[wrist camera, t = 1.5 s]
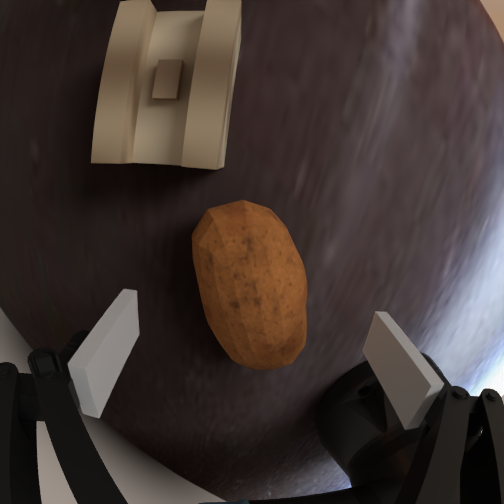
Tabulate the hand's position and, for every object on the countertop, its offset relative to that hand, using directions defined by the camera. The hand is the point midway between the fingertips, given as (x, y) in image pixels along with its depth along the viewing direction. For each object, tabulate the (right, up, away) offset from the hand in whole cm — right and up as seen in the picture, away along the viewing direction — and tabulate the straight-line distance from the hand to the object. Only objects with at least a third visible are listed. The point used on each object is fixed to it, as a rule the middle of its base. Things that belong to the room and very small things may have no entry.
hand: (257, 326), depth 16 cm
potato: (0, +2, +8) cm, 8 cm away
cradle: (-5, +15, +4) cm, 16 cm away
